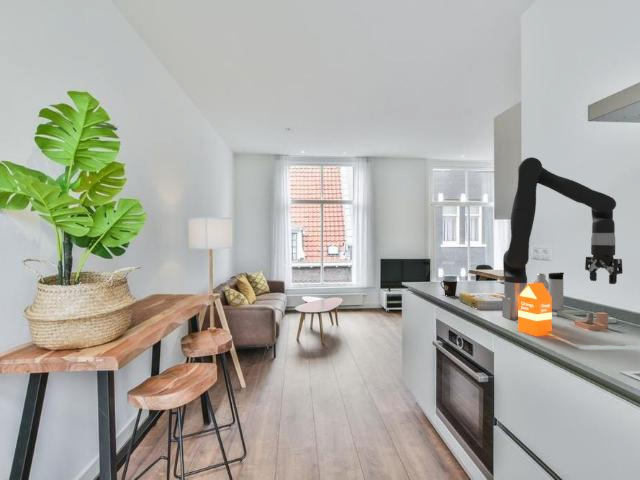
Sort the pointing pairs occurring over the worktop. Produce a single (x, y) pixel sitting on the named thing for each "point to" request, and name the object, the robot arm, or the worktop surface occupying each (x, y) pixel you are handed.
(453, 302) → the worktop surface
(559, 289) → the travel mug
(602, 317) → the collar
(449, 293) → the coffee mug
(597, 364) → the worktop surface
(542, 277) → the plastic bottle
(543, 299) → the orange juice
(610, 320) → the tray
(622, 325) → the worktop surface
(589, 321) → the wooden peg stand
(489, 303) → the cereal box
